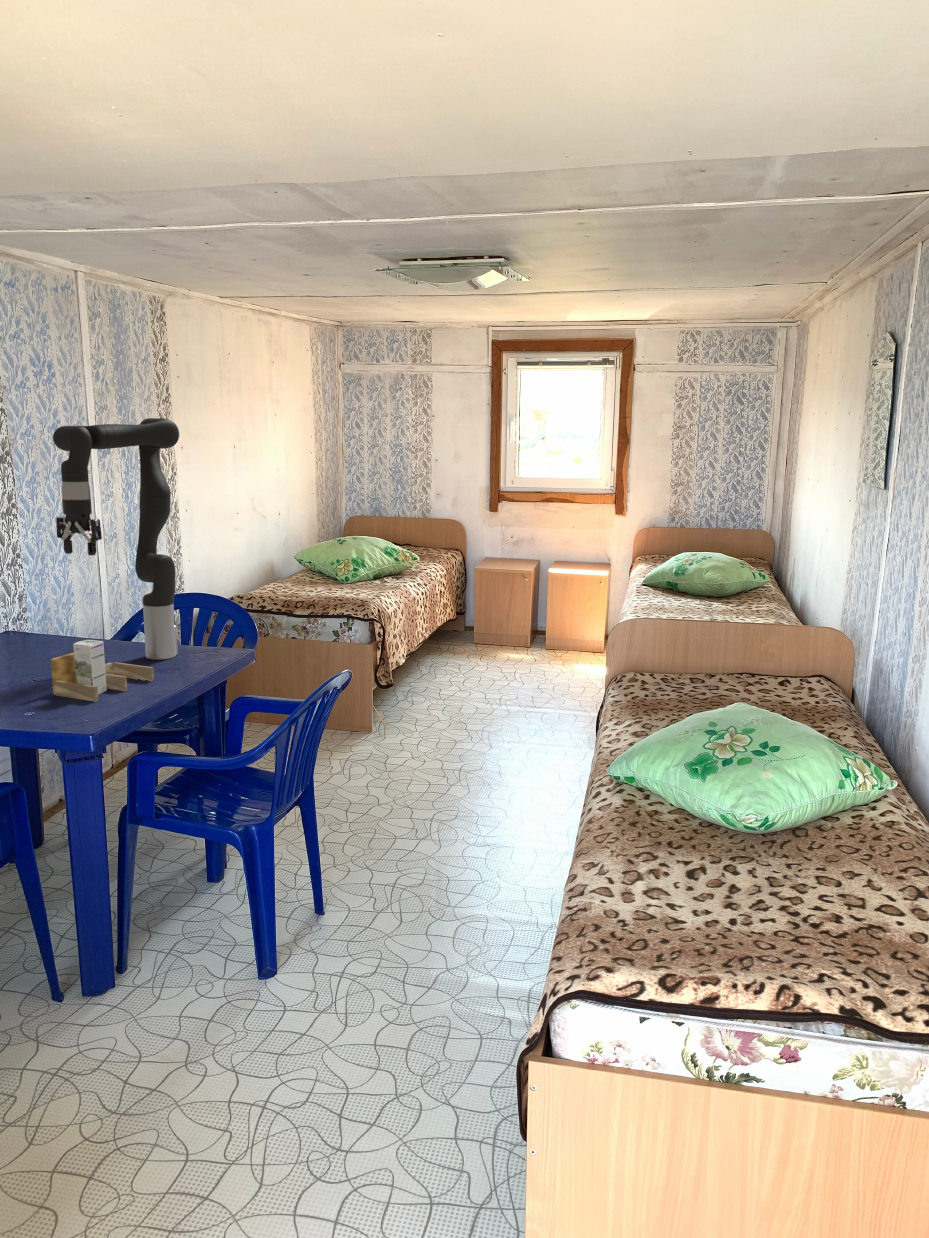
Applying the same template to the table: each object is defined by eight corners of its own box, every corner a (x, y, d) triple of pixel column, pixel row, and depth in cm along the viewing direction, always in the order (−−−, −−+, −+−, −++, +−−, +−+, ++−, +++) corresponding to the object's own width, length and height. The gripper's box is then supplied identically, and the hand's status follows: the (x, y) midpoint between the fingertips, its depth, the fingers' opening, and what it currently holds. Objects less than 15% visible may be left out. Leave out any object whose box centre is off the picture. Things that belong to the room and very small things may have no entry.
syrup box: (107, 691, 247) (104, 640, 244) (93, 696, 242) (89, 644, 239) (90, 688, 249) (87, 638, 246) (75, 694, 243) (72, 643, 240)
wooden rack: (112, 674, 264) (110, 642, 262) (154, 680, 258) (152, 647, 256) (51, 694, 243) (49, 659, 241) (95, 701, 237) (93, 665, 235)
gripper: (105, 498, 253) (109, 554, 256) (67, 495, 258) (71, 551, 261) (86, 499, 246) (90, 557, 249) (46, 497, 251) (51, 554, 254)
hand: (80, 554), depth 255 cm, fingers open, 8 cm apart
